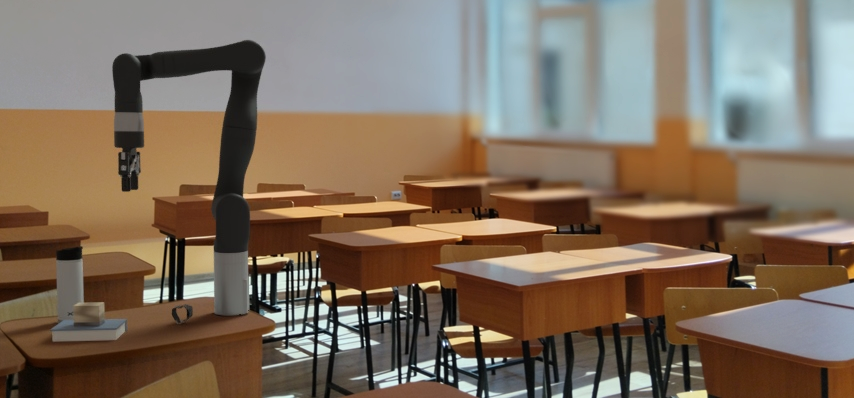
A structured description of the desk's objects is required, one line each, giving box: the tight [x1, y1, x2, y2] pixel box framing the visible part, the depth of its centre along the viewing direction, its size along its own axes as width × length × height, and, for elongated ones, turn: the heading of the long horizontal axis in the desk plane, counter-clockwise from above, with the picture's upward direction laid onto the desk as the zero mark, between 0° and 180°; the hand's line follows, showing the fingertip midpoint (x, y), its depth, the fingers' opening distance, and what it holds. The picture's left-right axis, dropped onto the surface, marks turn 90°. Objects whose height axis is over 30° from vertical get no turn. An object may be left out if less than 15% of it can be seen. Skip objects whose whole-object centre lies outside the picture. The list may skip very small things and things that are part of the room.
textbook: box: [49, 318, 128, 343], centre depth 194 cm, size 15×10×4 cm, turn 97°
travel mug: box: [55, 245, 85, 324], centre depth 208 cm, size 6×7×20 cm
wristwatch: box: [171, 303, 194, 325], centre depth 209 cm, size 3×5×5 cm, turn 77°
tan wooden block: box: [73, 301, 106, 327], centre depth 194 cm, size 6×4×5 cm, turn 95°
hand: (130, 190), depth 214 cm, fingers open, 8 cm apart
